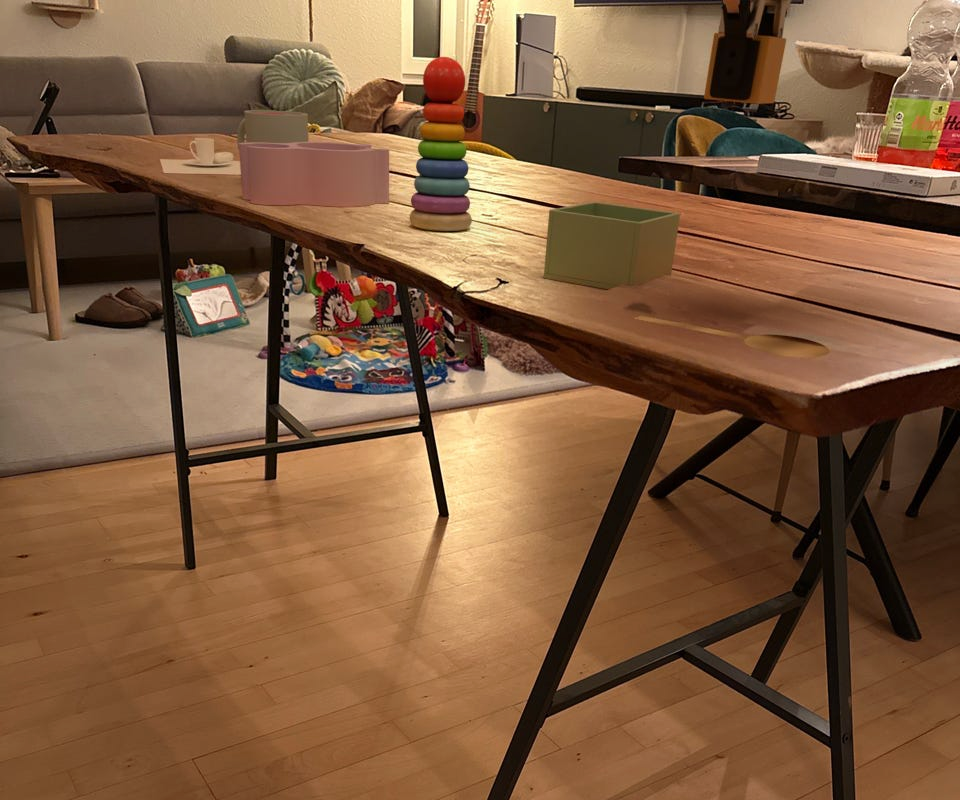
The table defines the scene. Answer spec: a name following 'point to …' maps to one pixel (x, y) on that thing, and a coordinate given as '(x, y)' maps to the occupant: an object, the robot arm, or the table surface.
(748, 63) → the robot arm
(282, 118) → the mug
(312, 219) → the table surface
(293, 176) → the pink twin-well planter
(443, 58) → the stacking toy
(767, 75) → the block
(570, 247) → the open top crate
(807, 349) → the spoon
